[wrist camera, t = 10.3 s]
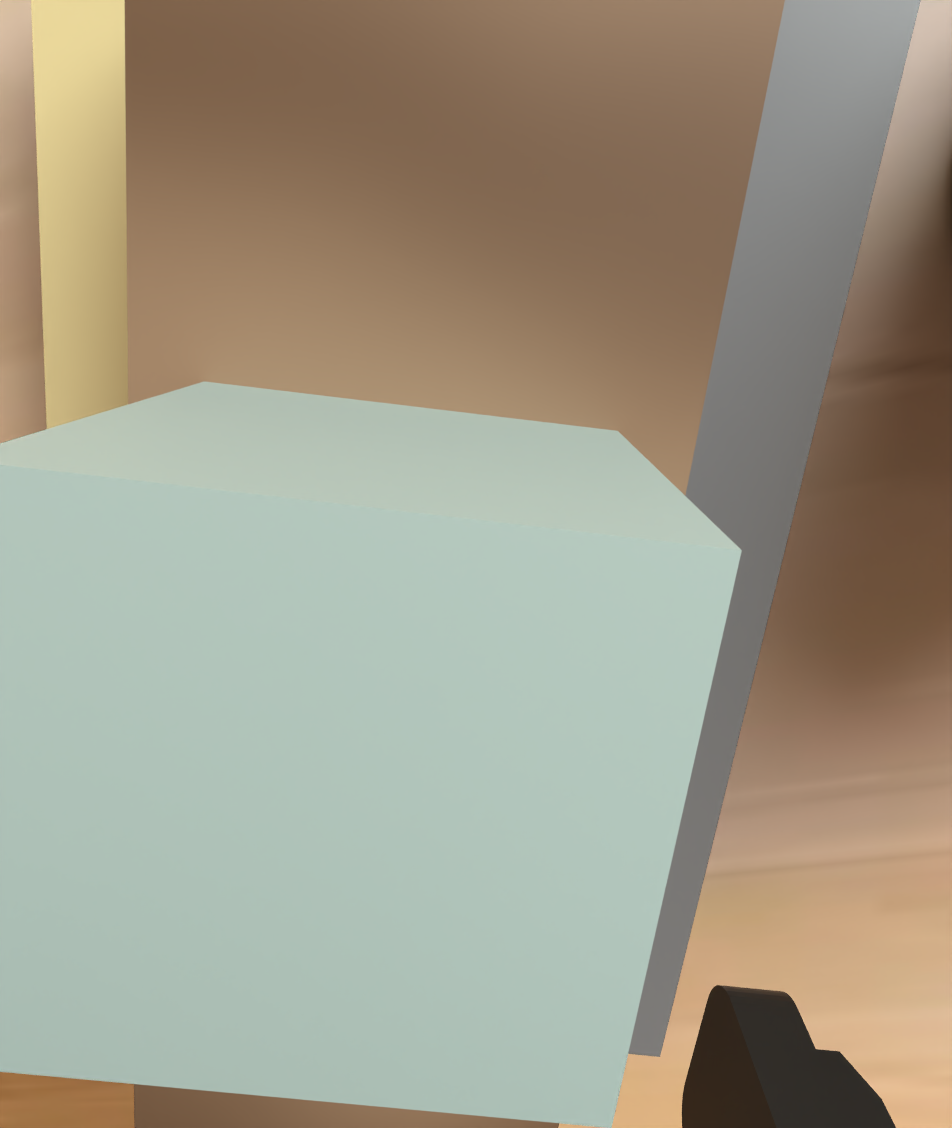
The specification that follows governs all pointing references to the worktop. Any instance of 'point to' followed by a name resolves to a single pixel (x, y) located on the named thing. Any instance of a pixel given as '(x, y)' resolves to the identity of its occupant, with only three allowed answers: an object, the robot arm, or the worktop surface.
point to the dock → (740, 363)
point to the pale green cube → (343, 748)
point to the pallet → (437, 237)
